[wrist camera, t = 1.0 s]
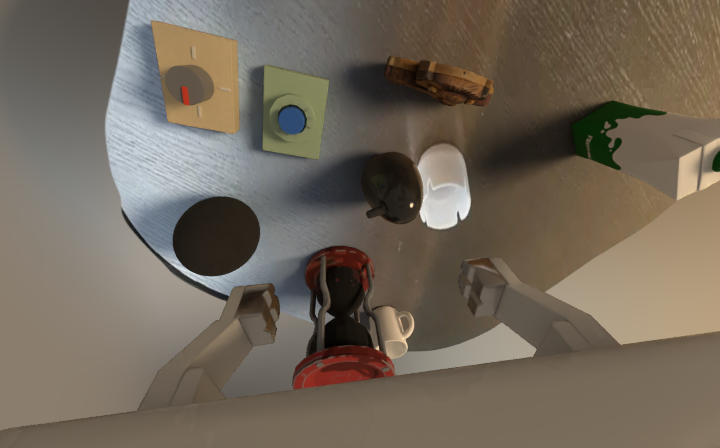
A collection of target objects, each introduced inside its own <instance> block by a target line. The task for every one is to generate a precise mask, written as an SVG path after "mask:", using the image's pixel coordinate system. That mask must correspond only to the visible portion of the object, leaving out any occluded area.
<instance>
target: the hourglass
mask: <svg viewBox="0 0 720 448" xmlns="http://www.w3.org/2000/svg"><path fill="white" fill-rule="evenodd" d="M373 280H374V266H373V264H372V261H371V259H370V258H369V257H368V256H367V255H366V254H365V253H364V252H362V251H360V250H358V249H356V248H352V247H346V246H336V247H330V248H327V249H324V250H321V251H320V252H318V253H317V254H315V255H314V256H313V257H312V258H311V259H310V261H309V262H308V263H307V266H306V270H305V281H306V284H307V286H308V287H309V289H310V290H311V302H310V317H311V320H312V321H313V322H314V324H315V328H314V333H313V335H312V337H311V339H310V340H309V343H308V346H307V352H306V358H304V359H303V360H302V361H301V362H300V363H299V364H298V365H297V366H296V368H295V372H294V375H293V383H292V386H293V389H302V388H309V387H316V386H324V385H331V384H338V383H346V382H353V381H360V380H367V379H375V378H382V377H389V376H395V370H394V365H393V363H392V361H391V359H390V357H388V356H387V352H386V347H385V342H384V336H383V331H382V325H381V320H380V318H379V316H378V315H377V314H376V313H374V312H373V311H372V309H371V307H370V300H371V298H372V296H373V294H374V283H373ZM368 288H369V290H368V293H367V295H366V297H365V291H366V290H367V289H368ZM316 295H317V300H318V302H319V304H320V305H321V308H320V310H319V313H318V318H317V317H316V315H315V304H316ZM364 297H365V298H364ZM363 299H364V303H363V308H364V311H365V313H366V315H368V316H370V317H371V318H372V319H373V320H374V322H375V327H376V333H377V339H378V345H379V350H376V349H374V345H373V341H372V338H371V336H370V334H369V332H368V331H367V330H366V328H365V327H364V326H363V325H361V324H360V316H359V306H360V305H361V303H362V301H363ZM326 312H327V313H329V314H330V315H332V316H334V317H335V318H334V319H332V320H331V321H330V322H328V323H327V324H326V325H325V314H326ZM352 313H354V315H355V320H354V319H352V318H351V317H349V316H350V315H351V314H352Z"/></svg>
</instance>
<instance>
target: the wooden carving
mask: <svg viewBox="0 0 720 448" xmlns="http://www.w3.org/2000/svg"><path fill="white" fill-rule="evenodd" d="M384 77H385V78H386V79H387V80H389V81H391V82H393V83H395V84H399V85H405V86H409V87H412V88H414V89H416V90H419V91H422V92H424V93H427V94H430V95H431V96H432V97H433V98H435V99H437V100H438V101H439V102H440V103H442V104H444V105H448V106H455V105H456V104H461V103H464V104H472V105H476V106H486V105H487V104H488V103H489V100H490V97H491V95H492V94H493V92H494V89H493V87H492V84H493V81H492V80H489V79H486V78H484V77H482V76H480V75H477V74H475V73H473V72H470V71H467V70H464V69H460V68H457V67H452V66H448V65H443V64H438V63H435V62H432V61H425V60H422V61H420V63H417V62H414V61H411V60H408V59H404V58H400V57H394V56H389V58H388V60H387V64H386V68H385V72H384Z"/></svg>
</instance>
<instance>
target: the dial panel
mask: <svg viewBox="0 0 720 448" xmlns="http://www.w3.org/2000/svg"><path fill="white" fill-rule="evenodd" d="M151 24H152V30H153V36H154V42H155V48H156V54H157V60H158V66H159V71H160V77H161V83H162V89H163V95H164V101H165V107H166V113H167V119H168V122H171V123H176V124H182V125H187V126H193V127H198V128H203V129H209V130H214V131H220V132H225V133H231V134H235V133H236V132H237V131H238V130H239V129H240V127H239V92H238V57H237V40H232V39H228V38H224V37H220V36H216V35H212V34H208V33H204V32H200V31H196V30H192V29H188V28H184V27H180V26H176V25H172V24H168V23H164V22H159V21H154V20H151ZM181 65H196V66H199V67H201V68H202V69H204V70H205V71H206V72H207V73H208V74H209V75H210V77H211V79H212V81H213V84H214V93H213V96H212V97H211V98H210V99H209V100H207V101H204V102H201V103H199V104H196V105H184V104H183V103H181V102H179V101H178V100H176V99H175V98H174V97H173V96H172V95H171V94H170V92H169V90H168V88H167V86H166V82H165V77H166V73H167V71H168V70H169V69H170V68H172V67H174V66H181Z"/></svg>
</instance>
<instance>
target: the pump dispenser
mask: <svg viewBox="0 0 720 448" xmlns="http://www.w3.org/2000/svg"><path fill="white" fill-rule="evenodd" d="M361 189H362V192H363V195H364V197H365V199H366V200H367V202H368V204H369V205H370V206H371V208H372V209H371V210H369V211H367V212H366V216H367V217H368V218H373V217H376V216H381V217H382V218H384V219H385V220H387V221H389V222H391V223H394V224H406V223H409V222H411V221H412V220H414V219H415V218H416V217H417V215H418V214H419V212H420V210H421V207H422V203H423V183H422V179H421V176H420V173H419V170H418V168H417V166H416V165H415V163H414V162H413V161H412V160H411V159H410V158H409V157H408V156H406V155H404V154H401V153H398V152H387V153H383V154H380V155H378V156H376V157H375V158H373V159H372V160H371V161H370V162H369V163H368V164H367V165H366V167H365V168H364V170H363V172H362V176H361Z"/></svg>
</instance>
